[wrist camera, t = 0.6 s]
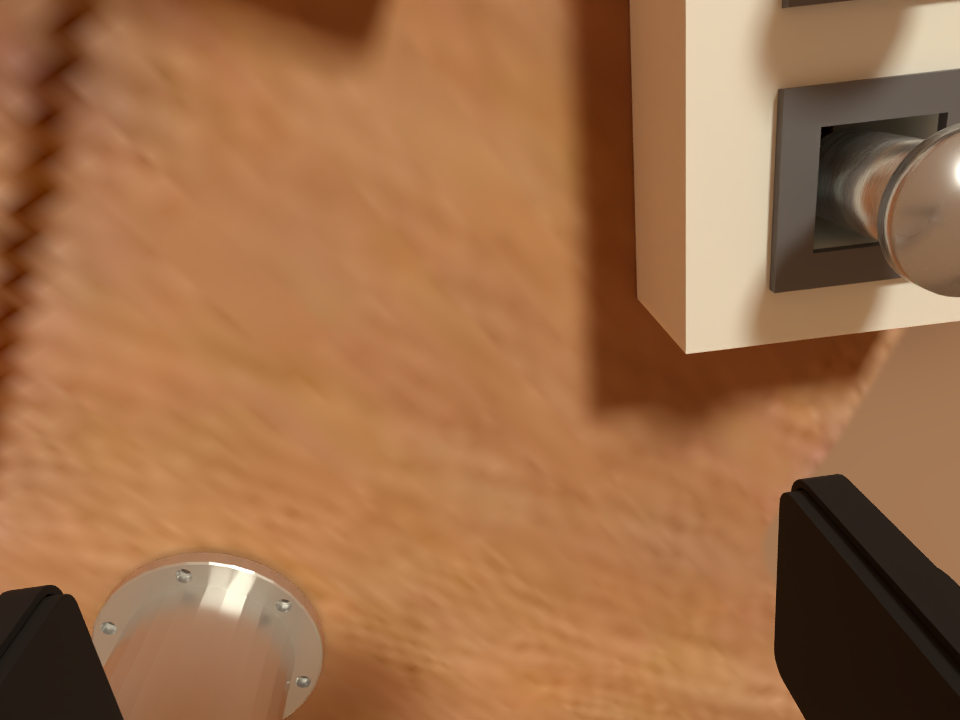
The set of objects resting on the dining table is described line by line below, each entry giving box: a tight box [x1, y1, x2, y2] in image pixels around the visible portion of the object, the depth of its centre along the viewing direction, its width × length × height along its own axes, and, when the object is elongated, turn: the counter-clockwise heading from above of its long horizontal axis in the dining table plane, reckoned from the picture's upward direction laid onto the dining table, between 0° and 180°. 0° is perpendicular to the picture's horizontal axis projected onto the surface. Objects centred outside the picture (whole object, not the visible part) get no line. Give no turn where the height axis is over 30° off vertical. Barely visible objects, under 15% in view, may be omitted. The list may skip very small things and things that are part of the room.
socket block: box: [629, 0, 960, 354], centre depth 29 cm, size 22×14×8 cm, turn 6°
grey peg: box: [816, 123, 960, 297], centre depth 26 cm, size 5×5×8 cm
